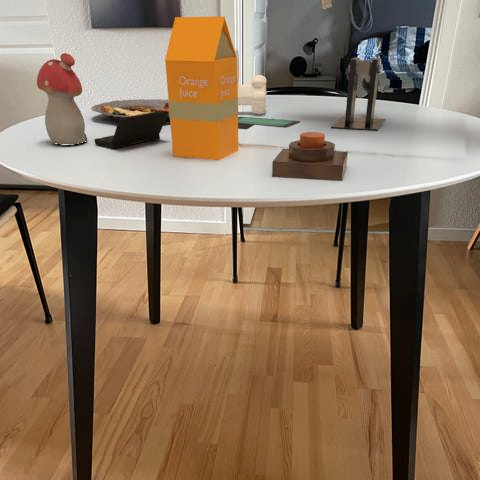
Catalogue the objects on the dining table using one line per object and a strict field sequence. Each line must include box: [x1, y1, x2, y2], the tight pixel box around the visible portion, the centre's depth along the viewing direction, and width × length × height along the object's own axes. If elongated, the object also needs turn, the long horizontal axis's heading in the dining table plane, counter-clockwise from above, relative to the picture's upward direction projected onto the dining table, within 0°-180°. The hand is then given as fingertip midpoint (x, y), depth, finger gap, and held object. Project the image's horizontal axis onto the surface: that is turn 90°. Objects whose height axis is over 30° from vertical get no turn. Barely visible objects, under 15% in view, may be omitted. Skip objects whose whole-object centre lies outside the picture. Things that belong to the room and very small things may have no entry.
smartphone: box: [238, 116, 301, 130], centre depth 105 cm, size 7×1×15 cm
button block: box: [271, 139, 349, 182], centre depth 73 cm, size 10×8×4 cm
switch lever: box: [357, 59, 380, 93], centre depth 101 cm, size 14×4×4 cm, turn 159°
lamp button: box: [299, 131, 326, 148], centre depth 72 cm, size 4×4×2 cm
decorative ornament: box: [36, 52, 88, 145], centre depth 90 cm, size 9×7×15 cm
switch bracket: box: [330, 57, 386, 132], centre depth 98 cm, size 12×9×13 cm
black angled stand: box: [94, 110, 168, 149], centre depth 91 cm, size 12×7×10 cm
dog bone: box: [238, 74, 268, 115], centre depth 117 cm, size 15×9×8 cm, turn 85°
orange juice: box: [164, 15, 239, 161], centre depth 80 cm, size 8×9×20 cm
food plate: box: [90, 98, 170, 120], centre depth 116 cm, size 25×23×4 cm
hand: (352, 1), depth 90 cm, fingers open, 8 cm apart
